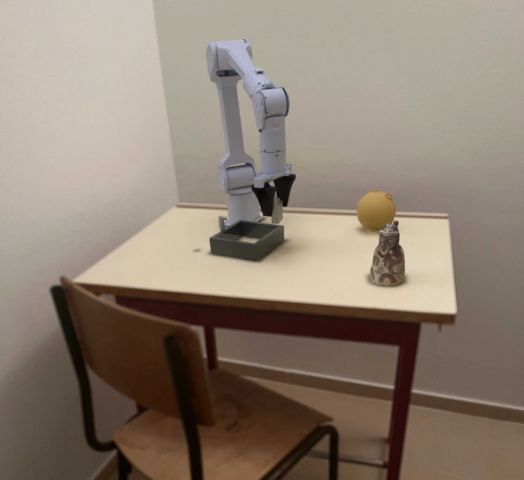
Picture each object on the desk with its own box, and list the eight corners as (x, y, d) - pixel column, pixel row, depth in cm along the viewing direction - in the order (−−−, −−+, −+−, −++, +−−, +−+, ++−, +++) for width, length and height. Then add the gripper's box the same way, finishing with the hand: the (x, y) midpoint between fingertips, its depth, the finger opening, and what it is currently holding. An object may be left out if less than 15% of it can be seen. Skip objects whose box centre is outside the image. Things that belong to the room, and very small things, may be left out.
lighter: (276, 217, 125) (275, 184, 120) (283, 218, 124) (282, 184, 120) (267, 227, 119) (265, 193, 115) (274, 228, 119) (273, 193, 114)
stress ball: (395, 236, 130) (398, 196, 125) (355, 235, 131) (357, 196, 126) (393, 222, 138) (396, 185, 133) (355, 222, 140) (357, 185, 134)
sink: (235, 233, 138) (233, 207, 134) (284, 240, 131) (283, 213, 128) (205, 252, 127) (202, 224, 124) (256, 261, 121) (255, 232, 117)
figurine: (362, 279, 110) (366, 224, 103) (382, 268, 114) (386, 215, 107) (391, 288, 105) (396, 232, 99) (410, 277, 109) (416, 222, 103)
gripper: (273, 158, 106) (275, 222, 113) (303, 144, 116) (304, 203, 124) (243, 156, 109) (248, 219, 116) (275, 142, 119) (278, 201, 127)
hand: (275, 211), depth 120 cm, fingers closed on lighter, 7 cm apart
